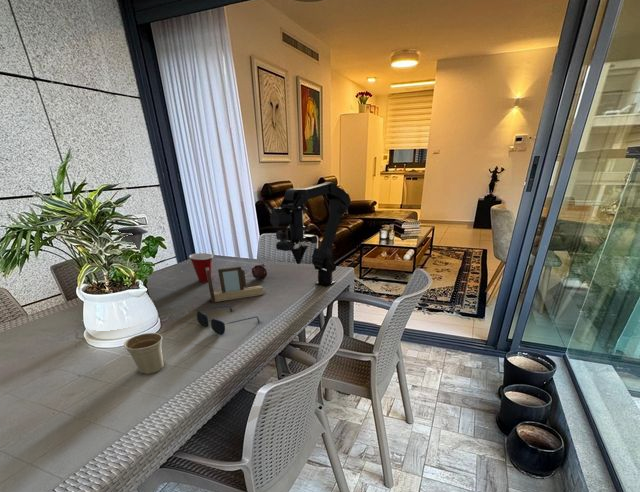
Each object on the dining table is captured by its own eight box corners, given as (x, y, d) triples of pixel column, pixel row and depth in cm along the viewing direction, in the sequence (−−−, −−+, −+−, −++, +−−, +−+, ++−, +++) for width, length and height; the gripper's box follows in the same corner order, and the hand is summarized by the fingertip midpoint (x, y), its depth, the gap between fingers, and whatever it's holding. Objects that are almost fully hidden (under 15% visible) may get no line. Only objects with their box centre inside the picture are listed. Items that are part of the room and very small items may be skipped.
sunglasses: (196, 323, 123) (195, 309, 121) (231, 315, 133) (231, 303, 132) (224, 337, 113) (223, 322, 111) (260, 328, 123) (260, 314, 121)
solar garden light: (170, 300, 145) (152, 224, 131) (159, 312, 134) (138, 230, 120) (141, 301, 145) (119, 225, 130) (127, 313, 134) (102, 231, 120)
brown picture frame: (246, 291, 148) (242, 265, 143) (247, 293, 146) (243, 267, 141) (222, 294, 145) (217, 268, 140) (222, 296, 143) (218, 270, 138)
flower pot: (146, 381, 91) (137, 352, 87) (125, 371, 96) (116, 344, 92) (176, 365, 98) (169, 337, 94) (155, 356, 103) (148, 330, 99)
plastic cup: (214, 283, 164) (209, 257, 158) (191, 283, 164) (185, 258, 158) (220, 276, 173) (216, 252, 168) (198, 277, 173) (193, 252, 168)
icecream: (264, 270, 158) (272, 264, 171) (248, 266, 158) (257, 260, 171) (262, 284, 161) (269, 277, 174) (246, 280, 161) (255, 274, 174)
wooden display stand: (261, 291, 152) (257, 261, 146) (263, 294, 148) (260, 264, 142) (211, 298, 146) (205, 267, 139) (212, 302, 141) (206, 270, 135)
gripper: (296, 219, 148) (298, 256, 155) (264, 226, 135) (268, 266, 142) (317, 221, 141) (318, 259, 149) (285, 228, 129) (288, 270, 136)
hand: (298, 263), depth 144 cm, fingers closed
